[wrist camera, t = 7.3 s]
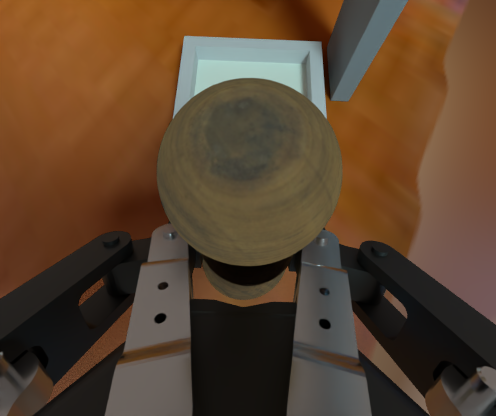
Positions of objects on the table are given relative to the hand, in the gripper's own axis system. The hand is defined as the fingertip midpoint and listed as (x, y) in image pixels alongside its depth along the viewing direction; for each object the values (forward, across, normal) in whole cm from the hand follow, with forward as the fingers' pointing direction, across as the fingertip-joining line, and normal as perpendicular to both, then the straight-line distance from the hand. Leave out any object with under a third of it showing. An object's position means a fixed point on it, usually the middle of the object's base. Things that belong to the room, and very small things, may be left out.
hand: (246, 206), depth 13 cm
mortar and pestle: (+4, 0, +7) cm, 8 cm away
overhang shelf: (+15, -2, -4) cm, 15 cm away
